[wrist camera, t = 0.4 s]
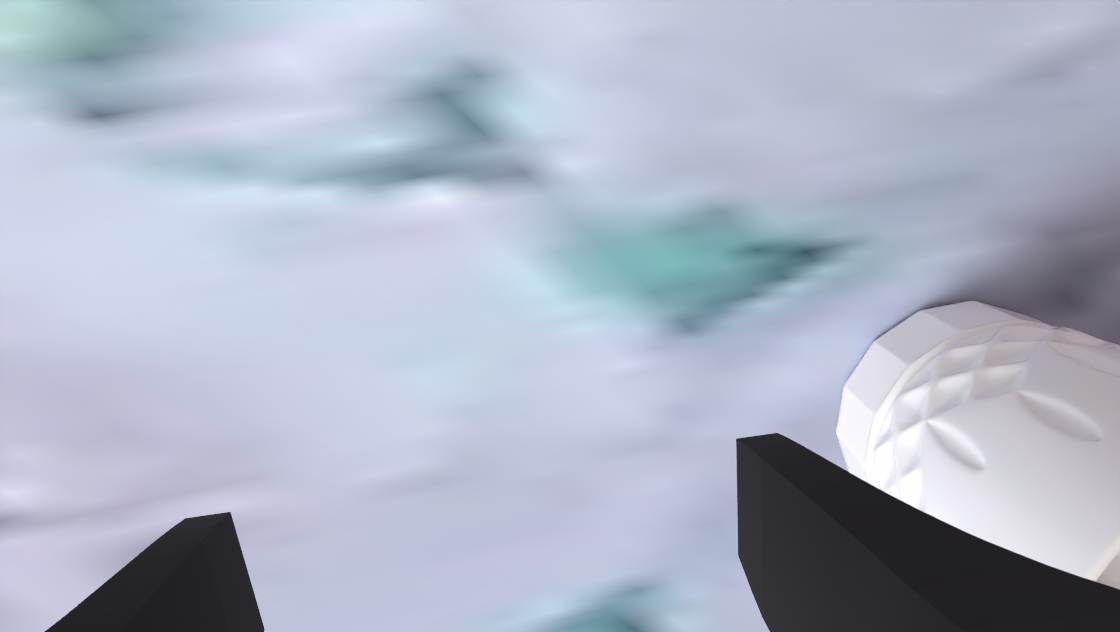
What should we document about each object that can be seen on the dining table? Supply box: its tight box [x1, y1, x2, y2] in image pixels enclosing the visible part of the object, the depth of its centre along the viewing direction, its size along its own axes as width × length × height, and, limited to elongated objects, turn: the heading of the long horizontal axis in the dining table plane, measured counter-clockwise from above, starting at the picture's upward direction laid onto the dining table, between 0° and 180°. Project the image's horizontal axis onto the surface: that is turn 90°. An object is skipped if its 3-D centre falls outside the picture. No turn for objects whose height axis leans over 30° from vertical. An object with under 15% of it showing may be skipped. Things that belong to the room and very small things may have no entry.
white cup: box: [836, 300, 1120, 589], centre depth 18 cm, size 8×8×10 cm
